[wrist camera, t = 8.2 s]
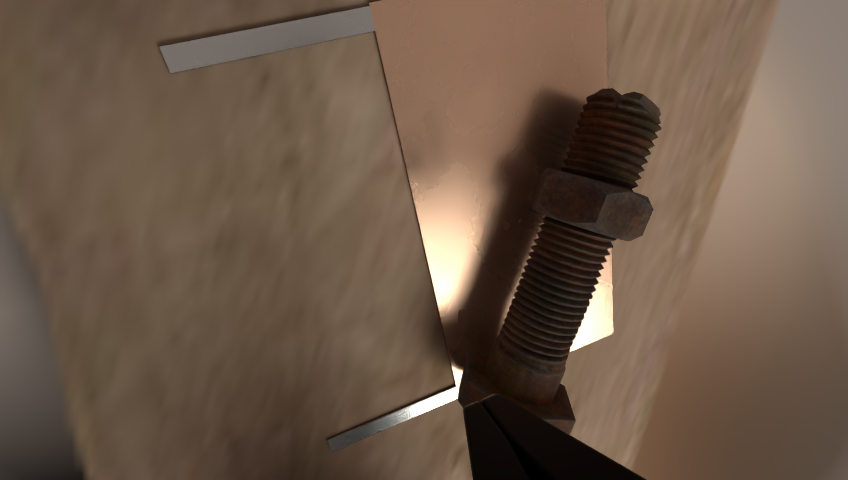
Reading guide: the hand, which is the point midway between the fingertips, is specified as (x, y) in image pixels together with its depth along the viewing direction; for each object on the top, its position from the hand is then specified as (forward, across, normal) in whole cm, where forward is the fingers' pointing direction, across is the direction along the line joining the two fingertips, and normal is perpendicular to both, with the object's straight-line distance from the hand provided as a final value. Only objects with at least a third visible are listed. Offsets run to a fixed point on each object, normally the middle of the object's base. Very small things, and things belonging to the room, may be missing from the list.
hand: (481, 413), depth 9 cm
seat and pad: (+10, -3, 0) cm, 11 cm away
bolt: (+10, -8, +3) cm, 13 cm away
